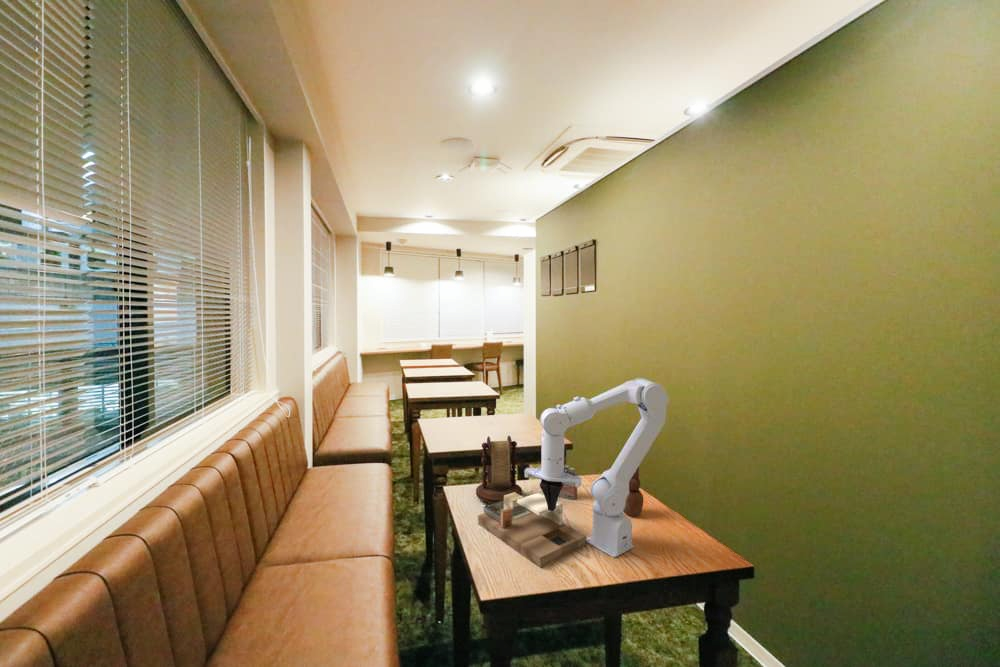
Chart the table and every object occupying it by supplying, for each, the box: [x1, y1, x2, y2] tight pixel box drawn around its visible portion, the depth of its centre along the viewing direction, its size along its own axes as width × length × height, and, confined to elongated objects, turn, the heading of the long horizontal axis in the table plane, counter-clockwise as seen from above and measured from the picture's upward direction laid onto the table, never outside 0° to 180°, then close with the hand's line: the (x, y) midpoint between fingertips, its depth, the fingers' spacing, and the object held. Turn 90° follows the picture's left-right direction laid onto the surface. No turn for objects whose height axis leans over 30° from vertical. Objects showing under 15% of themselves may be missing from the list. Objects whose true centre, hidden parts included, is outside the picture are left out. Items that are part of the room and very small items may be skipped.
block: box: [504, 492, 524, 510], centre depth 122 cm, size 4×4×4 cm
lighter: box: [558, 465, 579, 501], centre depth 137 cm, size 8×3×10 cm, turn 58°
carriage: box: [483, 500, 526, 527], centre depth 119 cm, size 10×12×4 cm
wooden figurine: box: [622, 465, 644, 518], centre depth 126 cm, size 7×6×15 cm
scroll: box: [475, 435, 523, 506], centre depth 136 cm, size 15×15×20 cm
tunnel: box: [477, 491, 587, 569], centre depth 114 cm, size 26×16×8 cm, turn 37°
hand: (551, 509), depth 108 cm, fingers closed
